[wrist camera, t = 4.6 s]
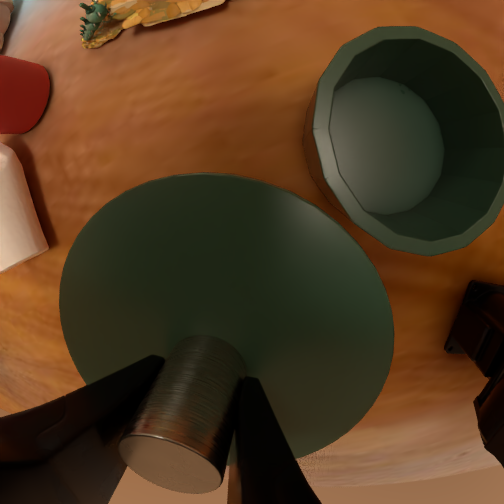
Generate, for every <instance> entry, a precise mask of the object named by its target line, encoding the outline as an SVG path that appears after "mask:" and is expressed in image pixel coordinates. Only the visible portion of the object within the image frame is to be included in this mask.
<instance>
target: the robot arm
mask: <svg viewBox="0 0 504 504" xmlns="http://www.w3.org/2000/svg"><path fill="white" fill-rule="evenodd" d="M474 285H475V287H474V288H473V286H474ZM450 346H451V347H450ZM449 347H450V348H449ZM444 350H445V351H446V352H447V353H451V354H467V356H468V357H469V358H470V360H471V361H473V362H474V363H475V364H476V366H477V367H478V368H479V370H480V371H481V372H482V374H483V375H484V376H485V377H487V378H488V379H489V381H488V383H487V384H486V386H485V387H484V389H483V390H482V392H481V393H480V394H479V396H477V397H476V398H475V400H474V401H473V403H474V407H475V411H476V416H477V420H478V429H479V431H480V435H481V438H482V441H483V444H484V445H485V446H484V448H485V449H486V450H487V451H489V452H490V453H491V454H493V455H494V456H495V457H496V459H497V460H498V461H499V462H500V463H501V464H502V466H503V468H504V286H503V285H498V284H492V283H487V282H482V281H477V280H472V281H471V282H470V283H469V285H468V288H467V290H466V293H465V296H464V299H463V302H462V304H461V307H460V310H459V312H458V315H457V318H456V320H455V322H454V325H453V327H452V330H451V332H450V334H449V337H448V339H447V341H446V344H445V346H444ZM164 363H165V358H164V357H162V356H158V355H154V354H151V355H149V356H147V357H145V358H143V359H141V360H139V361H137V362H135V363H133V364H131V365H129V366H127V367H124V368H122V369H120V370H118V371H116V372H114V373H112V374H110V375H108V376H106V377H104V378H101V379H99V380H97V381H95V382H93V383H91V384H89V385H86V386H84V387H82V388H80V389H78V390H75V391H73V392H71V393H69V394H67V395H66V397H65V396H62V397H60V398H57V399H55V400H53V401H50V402H48V403H45V404H43V405H40V406H37V407H34V408H31V409H28V410H25V411H22V412H18V413H15V414H11V415H8V416H4V417H0V504H108V503H109V501H110V499H111V497H112V495H113V493H114V491H115V489H116V487H117V485H118V483H119V481H120V479H121V478H122V476H123V474H124V472H125V470H126V468H127V466H128V465H127V464H126V463H125V462H124V461H123V459H122V458H121V456H120V454H119V452H118V442H119V439H120V438H121V436H122V434H123V433H124V431H125V429H126V427H127V426H128V424H129V422H130V420H131V419H132V417H133V415H134V414H135V412H136V410H137V408H138V407H139V405H140V403H141V402H142V400H143V398H144V396H145V395H146V393H147V391H148V390H149V388H150V386H151V385H152V383H153V381H154V380H155V378H156V376H157V374H158V373H159V371H160V369H161V368H162V366H163V364H164ZM227 500H228V501H227V504H322V503H321V502H320V500H319V499H318V497H317V496H316V495H315V493H314V491H313V490H312V488H311V487H310V485H309V484H308V482H307V480H306V478H305V476H304V475H303V473H302V471H301V469H300V467H299V465H298V463H297V461H296V460H295V457H294V455H293V452H292V450H291V448H290V446H289V444H288V442H287V440H286V438H285V435H284V433H283V431H282V429H281V427H280V425H279V422H278V420H277V418H276V416H275V414H274V412H273V409H272V407H271V405H270V403H269V400H268V398H267V396H266V394H265V391H264V389H263V387H262V385H261V382H260V380H259V379H258V378H256V377H250V376H245V377H244V381H243V385H242V390H241V394H240V399H239V404H238V409H237V415H236V423H235V429H234V433H233V438H232V443H231V450H230V466H229V482H228V499H227Z"/></svg>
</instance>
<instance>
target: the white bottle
mask: <svg viewBox="0 0 504 504" xmlns="http://www.w3.org/2000/svg"><path fill="white" fill-rule="evenodd" d="M48 249H49V246H48V244H47V241H46V239H45V236H44V234H43V232H42V229H41V226H40V223H39V220H38V217H37V214H36V211H35V208H34V204H33V201H32V198H31V195H30V191H29V188H28V185H27V182H26V178H25V174H24V170H23V167H22V164H21V163H20V161H19V159H18V157H17V156H16V154H15V152H14V150H13V149H11V148H10V147H7V146H6V145H3V144H2V142H0V274H1V273H4V272H6V271H8V270H10V269H12V268H14V267H15V266H17V265H19V264H21V263H23V262H25V261H27V260H29V259H31V258H33V257H35V256H37V255H39V254H41V253H43V252H45V251H46V250H48Z"/></svg>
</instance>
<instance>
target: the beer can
mask: <svg viewBox="0 0 504 504" xmlns="http://www.w3.org/2000/svg"><path fill="white" fill-rule="evenodd" d="M49 92H50V81H49V76H48V73H47V71H46V70H45V68H44V67H43V66H41V65H39V64H36V63H32V62H28V61H25V60H21V59H17V58H13V57H8V56H4V55H0V134H22V133H24V132H26V131H28V130H30V129H31V128H32V127H33V126H34V125H35V124H36V123H37V121H38V120H39V118H40V117H41V115H42V114H43V111H44V109H45V107H46V105H47V101H48V97H49Z"/></svg>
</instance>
